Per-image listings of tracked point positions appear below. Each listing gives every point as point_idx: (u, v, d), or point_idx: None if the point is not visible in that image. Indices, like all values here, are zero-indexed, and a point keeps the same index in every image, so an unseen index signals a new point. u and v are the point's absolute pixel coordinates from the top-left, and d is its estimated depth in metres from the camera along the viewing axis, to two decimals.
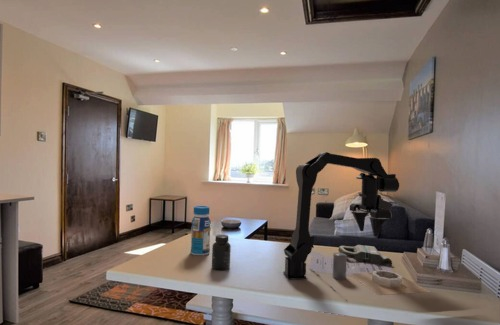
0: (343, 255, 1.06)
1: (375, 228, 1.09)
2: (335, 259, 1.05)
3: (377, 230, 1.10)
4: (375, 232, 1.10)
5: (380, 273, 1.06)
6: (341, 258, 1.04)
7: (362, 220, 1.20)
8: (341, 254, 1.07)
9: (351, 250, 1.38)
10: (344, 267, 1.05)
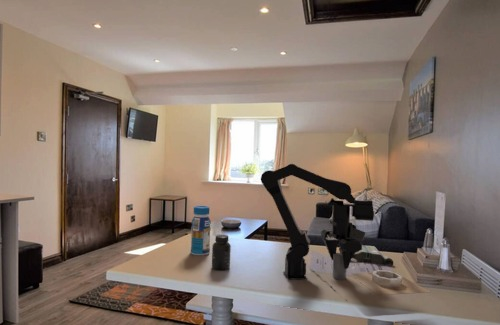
0: None
1: (345, 260, 1.01)
2: (335, 259, 1.05)
3: (347, 262, 1.01)
4: (345, 264, 1.01)
5: (380, 273, 1.06)
6: (341, 258, 1.04)
7: (334, 248, 1.11)
8: None
9: None
10: None
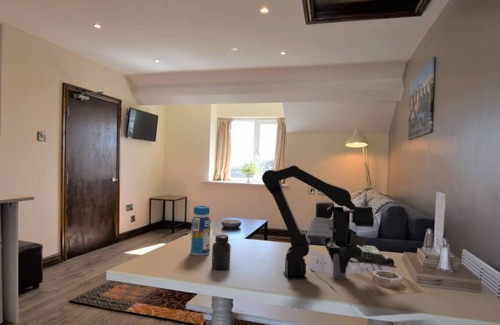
0: None
1: (341, 264, 1.03)
2: (335, 259, 1.05)
3: (344, 266, 1.03)
4: (342, 268, 1.03)
5: (380, 273, 1.06)
6: None
7: None
8: None
9: None
10: None
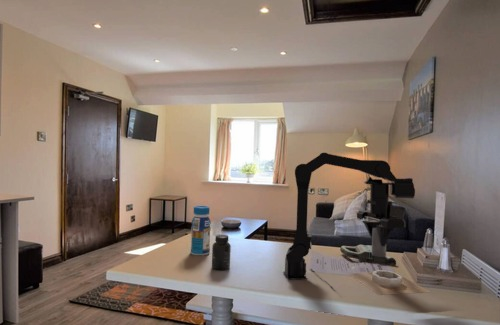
0: None
1: (382, 237, 1.00)
2: (375, 232, 1.03)
3: (385, 239, 1.01)
4: (382, 241, 1.01)
5: (380, 273, 1.06)
6: None
7: None
8: None
9: (353, 250, 1.38)
10: None
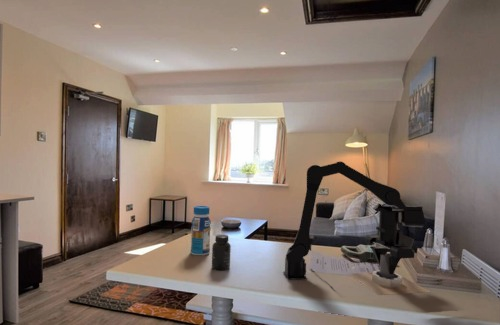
0: None
1: (391, 265, 1.00)
2: (383, 260, 1.02)
3: (393, 267, 1.00)
4: (391, 270, 1.00)
5: None
6: None
7: None
8: None
9: (353, 250, 1.38)
10: None
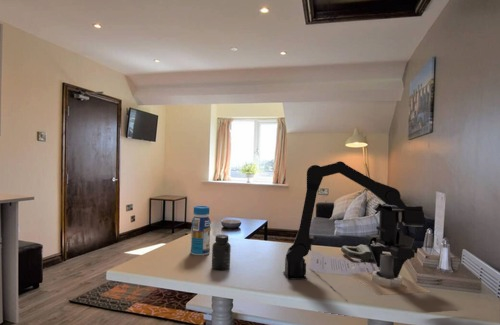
0: None
1: (395, 267, 0.97)
2: (383, 260, 1.02)
3: (398, 270, 0.98)
4: (395, 272, 0.98)
5: None
6: (389, 259, 1.01)
7: (379, 254, 1.08)
8: (388, 255, 1.04)
9: (354, 250, 1.38)
10: None
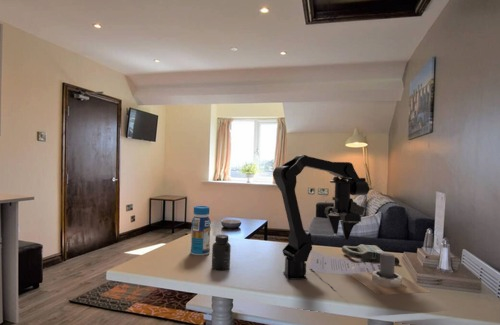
0: (391, 256, 1.02)
1: (345, 231, 1.11)
2: (383, 260, 1.02)
3: (347, 233, 1.12)
4: (346, 235, 1.12)
5: None
6: (390, 259, 1.01)
7: (336, 223, 1.22)
8: (388, 255, 1.04)
9: (354, 250, 1.38)
10: (393, 268, 1.01)
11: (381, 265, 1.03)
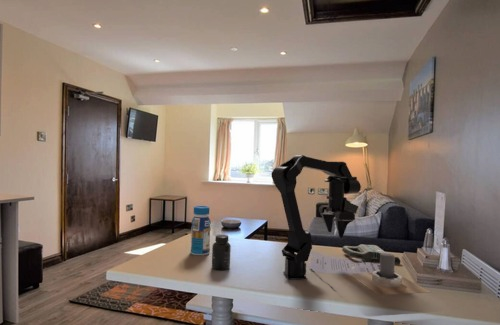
0: (391, 256, 1.02)
1: (340, 229, 1.13)
2: (383, 260, 1.02)
3: (342, 231, 1.14)
4: (340, 233, 1.14)
5: None
6: (390, 259, 1.01)
7: (330, 221, 1.24)
8: (388, 255, 1.04)
9: (355, 250, 1.38)
10: (393, 268, 1.01)
11: (381, 265, 1.03)
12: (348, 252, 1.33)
